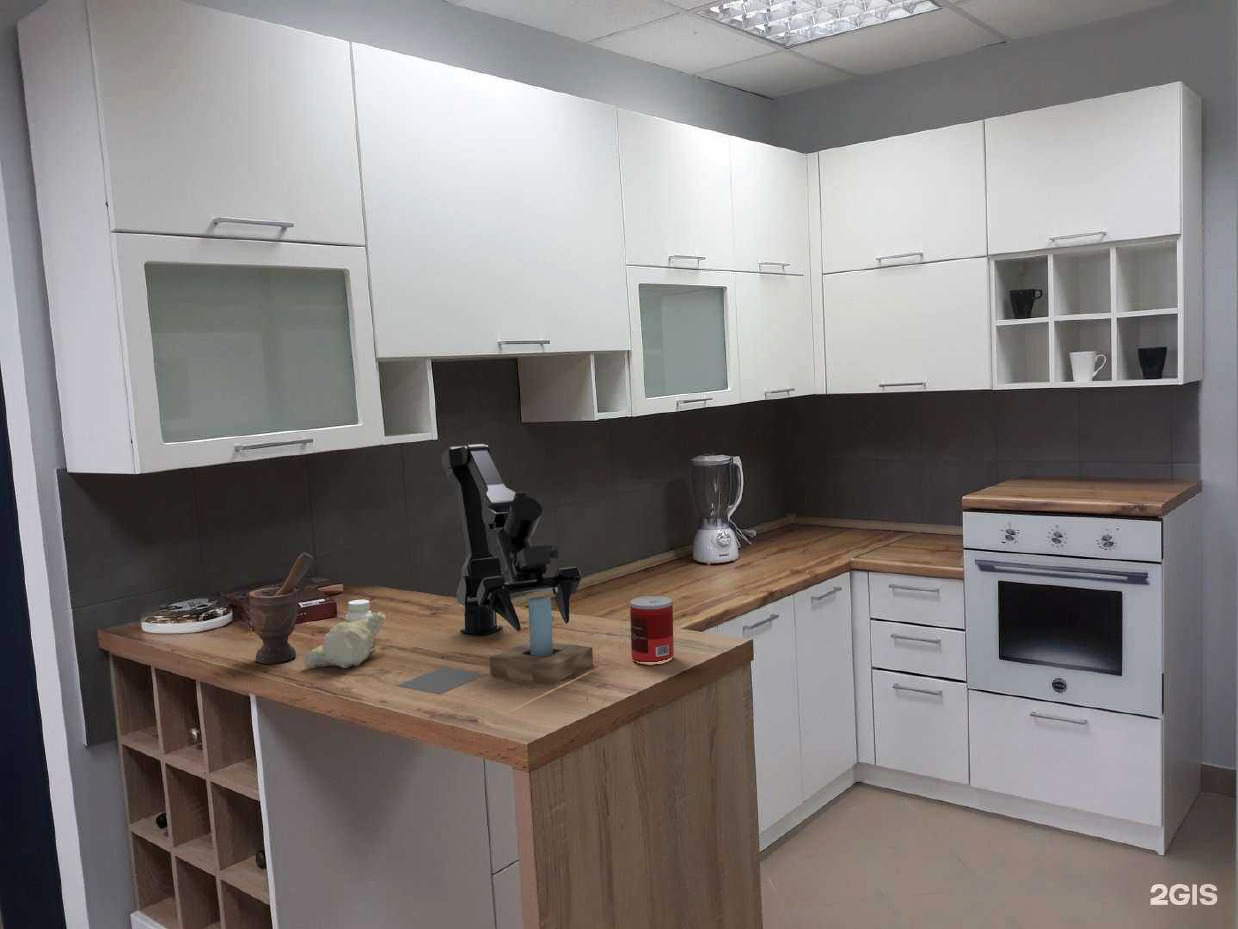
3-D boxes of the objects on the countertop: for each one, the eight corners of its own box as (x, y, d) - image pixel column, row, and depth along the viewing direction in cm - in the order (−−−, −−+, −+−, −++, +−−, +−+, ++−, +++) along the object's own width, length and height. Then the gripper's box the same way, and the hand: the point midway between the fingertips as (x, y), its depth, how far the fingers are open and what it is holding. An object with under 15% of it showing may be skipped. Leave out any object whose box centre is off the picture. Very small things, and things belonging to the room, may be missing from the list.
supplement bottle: (367, 655, 191) (365, 605, 190) (342, 654, 192) (339, 604, 191) (380, 647, 196) (377, 598, 195) (355, 646, 197) (352, 598, 197)
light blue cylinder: (532, 668, 180) (529, 597, 178) (554, 667, 179) (551, 596, 178) (529, 675, 176) (527, 602, 174) (552, 674, 175) (550, 601, 174)
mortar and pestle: (302, 647, 198) (296, 547, 196) (323, 655, 192) (317, 552, 190) (245, 659, 190) (239, 556, 188) (265, 668, 184) (259, 561, 182)
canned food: (678, 655, 185) (677, 596, 184) (666, 667, 178) (665, 606, 177) (639, 652, 188) (638, 594, 187) (625, 664, 180) (624, 604, 179)
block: (534, 657, 186) (534, 639, 186) (593, 666, 180) (592, 647, 179) (490, 676, 175) (489, 656, 175) (550, 686, 169) (550, 666, 168)
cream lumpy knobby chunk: (313, 691, 176) (378, 634, 177) (290, 659, 178) (354, 603, 179) (347, 690, 191) (407, 638, 192) (325, 661, 193) (384, 609, 194)
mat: (443, 669, 181) (443, 667, 180) (486, 676, 175) (486, 674, 175) (396, 687, 170) (395, 685, 170) (440, 696, 165) (440, 694, 165)
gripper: (479, 532, 174) (503, 607, 166) (576, 522, 183) (604, 593, 174) (466, 569, 182) (489, 643, 173) (560, 558, 191) (586, 627, 182)
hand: (543, 625), depth 175 cm, fingers open, 9 cm apart
